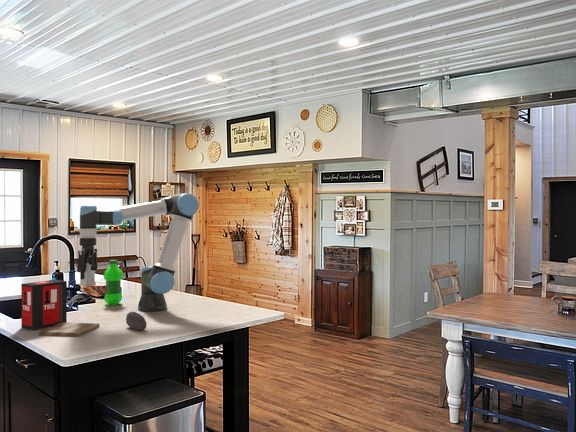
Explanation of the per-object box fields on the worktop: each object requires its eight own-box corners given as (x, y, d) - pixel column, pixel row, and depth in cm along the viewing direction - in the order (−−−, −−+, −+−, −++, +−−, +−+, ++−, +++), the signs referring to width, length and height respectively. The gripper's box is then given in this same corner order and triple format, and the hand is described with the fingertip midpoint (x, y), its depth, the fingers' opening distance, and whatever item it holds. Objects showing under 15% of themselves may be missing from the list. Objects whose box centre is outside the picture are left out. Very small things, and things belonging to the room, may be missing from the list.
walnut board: (99, 326, 230) (99, 323, 230) (78, 336, 212) (78, 332, 212) (62, 325, 232) (62, 322, 232) (38, 335, 214) (38, 331, 214)
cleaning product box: (55, 321, 241) (55, 279, 241) (66, 323, 236) (66, 281, 236) (21, 328, 227) (21, 283, 227) (32, 330, 222) (32, 285, 222)
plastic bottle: (99, 305, 282) (99, 260, 282) (112, 302, 292) (112, 259, 292) (113, 306, 279) (113, 261, 278) (126, 303, 288) (126, 259, 288)
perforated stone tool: (150, 331, 222) (150, 315, 222) (139, 333, 218) (139, 317, 218) (136, 325, 233) (136, 310, 233) (125, 327, 230) (125, 312, 229)
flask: (82, 284, 246) (82, 264, 246) (97, 284, 246) (98, 264, 246) (77, 286, 239) (77, 265, 239) (93, 286, 239) (93, 265, 239)
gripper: (91, 236, 253) (90, 281, 253) (69, 238, 233) (68, 287, 233) (105, 236, 252) (105, 282, 252) (84, 238, 232) (83, 288, 232)
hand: (87, 284), depth 243 cm, fingers closed on flask, 7 cm apart
